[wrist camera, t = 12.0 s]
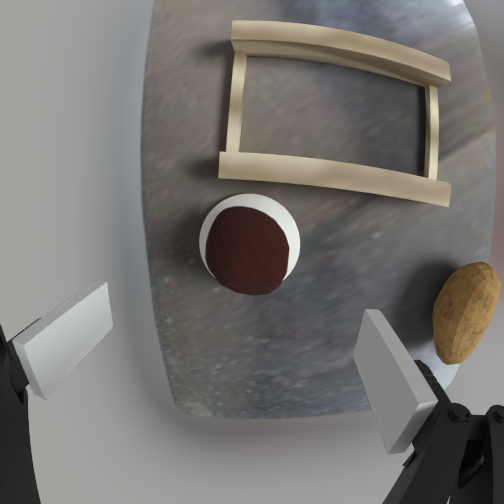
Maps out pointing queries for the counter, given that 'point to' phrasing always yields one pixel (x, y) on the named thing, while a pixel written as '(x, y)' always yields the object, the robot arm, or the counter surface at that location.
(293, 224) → the plate
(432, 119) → the cradle
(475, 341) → the potato
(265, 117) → the counter surface
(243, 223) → the dark brown rounded piece
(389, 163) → the counter surface
